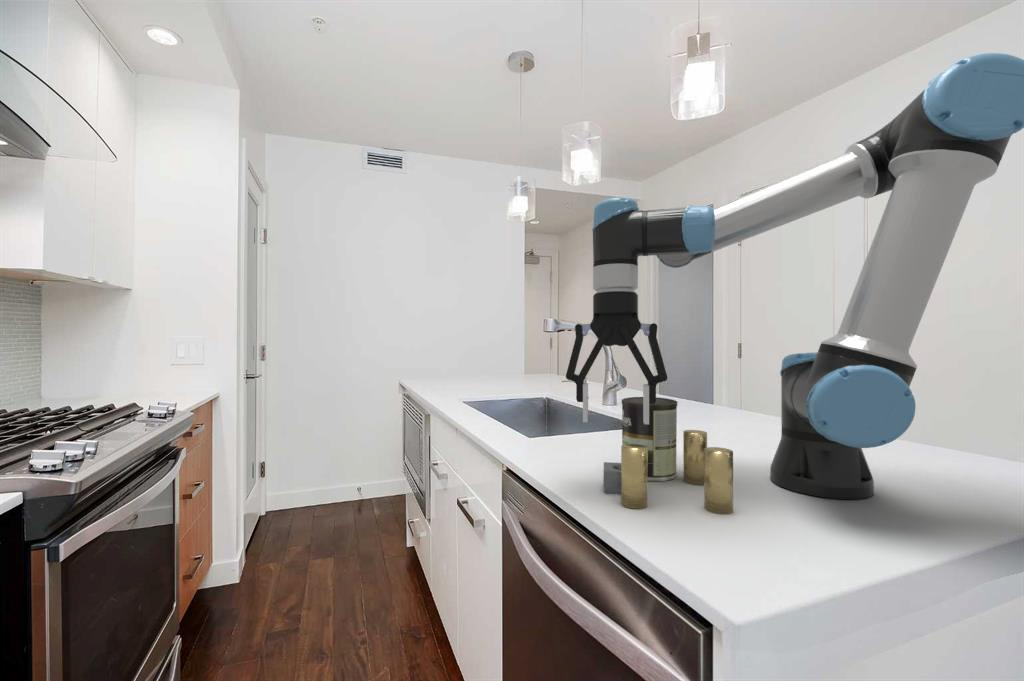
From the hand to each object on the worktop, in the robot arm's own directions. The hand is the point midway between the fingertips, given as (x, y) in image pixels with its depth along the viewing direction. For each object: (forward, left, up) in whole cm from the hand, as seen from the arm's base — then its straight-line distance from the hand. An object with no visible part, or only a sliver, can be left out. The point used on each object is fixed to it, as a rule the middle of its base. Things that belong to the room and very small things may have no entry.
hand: (615, 421), depth 80 cm
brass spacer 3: (-15, +6, -12) cm, 20 cm away
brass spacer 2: (-14, -7, -12) cm, 20 cm away
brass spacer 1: (-3, +7, -12) cm, 14 cm away
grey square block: (-1, 0, -12) cm, 12 cm away
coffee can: (-7, -11, -12) cm, 17 cm away
